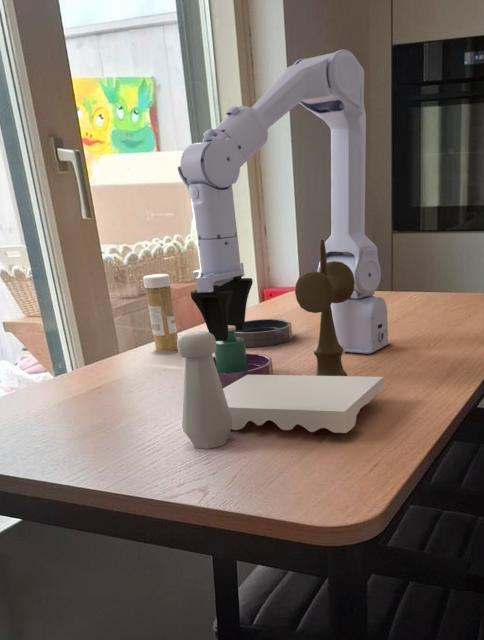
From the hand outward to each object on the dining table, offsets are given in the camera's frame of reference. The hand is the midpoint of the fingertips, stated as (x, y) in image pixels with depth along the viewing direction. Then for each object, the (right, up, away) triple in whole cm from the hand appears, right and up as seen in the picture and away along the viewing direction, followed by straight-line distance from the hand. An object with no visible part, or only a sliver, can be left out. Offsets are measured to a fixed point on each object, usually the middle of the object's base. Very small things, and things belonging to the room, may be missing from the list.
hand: (228, 334), depth 103 cm
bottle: (0, -6, +3) cm, 7 cm away
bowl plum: (0, -7, +3) cm, 7 cm away
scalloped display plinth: (+10, -13, -13) cm, 21 cm away
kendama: (+15, -7, 0) cm, 17 cm away
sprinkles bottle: (-15, +2, +25) cm, 29 cm away
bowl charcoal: (+2, +4, +27) cm, 28 cm away
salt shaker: (+1, -17, -20) cm, 27 cm away
